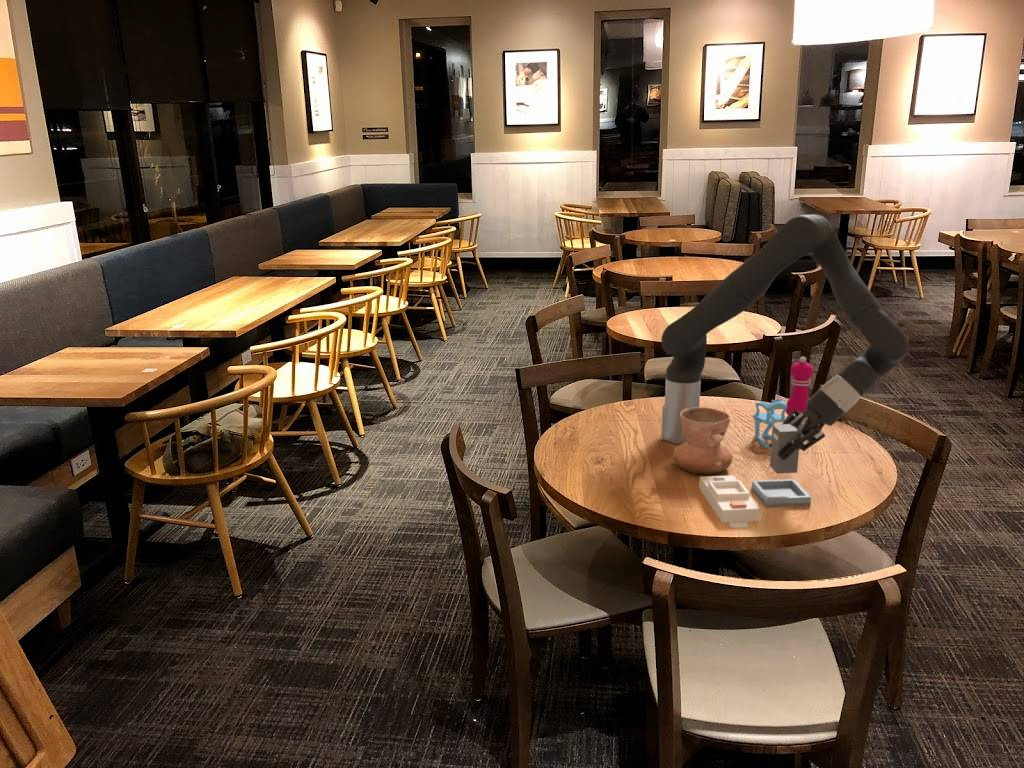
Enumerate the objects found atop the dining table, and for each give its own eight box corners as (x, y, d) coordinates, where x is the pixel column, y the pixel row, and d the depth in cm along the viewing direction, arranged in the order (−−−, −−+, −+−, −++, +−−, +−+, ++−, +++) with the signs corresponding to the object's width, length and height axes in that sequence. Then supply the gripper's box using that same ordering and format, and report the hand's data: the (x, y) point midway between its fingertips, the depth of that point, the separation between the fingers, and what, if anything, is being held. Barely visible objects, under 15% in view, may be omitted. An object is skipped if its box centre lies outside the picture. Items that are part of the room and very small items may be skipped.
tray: (766, 506, 182) (767, 498, 182) (751, 488, 192) (752, 480, 191) (810, 505, 183) (811, 497, 182) (793, 486, 192) (794, 479, 192)
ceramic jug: (745, 477, 198) (748, 422, 194) (689, 483, 195) (692, 427, 191) (711, 452, 215) (714, 401, 211) (659, 457, 212) (661, 405, 208)
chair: (771, 434, 226) (774, 393, 223) (789, 444, 218) (793, 401, 215) (747, 438, 224) (749, 396, 220) (765, 448, 216) (768, 405, 213)
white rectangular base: (699, 488, 192) (700, 471, 191) (732, 487, 193) (733, 470, 192) (722, 522, 175) (723, 505, 174) (758, 521, 176) (760, 503, 174)
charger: (769, 465, 187) (772, 424, 185) (789, 464, 188) (792, 423, 185) (776, 473, 183) (779, 431, 180) (797, 472, 183) (800, 430, 180)
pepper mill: (814, 428, 230) (820, 359, 224) (788, 428, 230) (794, 360, 224) (805, 419, 237) (811, 353, 231) (780, 420, 237) (786, 353, 231)
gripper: (809, 380, 187) (754, 431, 190) (836, 398, 173) (776, 454, 176) (830, 401, 189) (775, 451, 192) (858, 421, 175) (799, 475, 178)
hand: (776, 452), depth 184 cm, fingers closed on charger, 4 cm apart
